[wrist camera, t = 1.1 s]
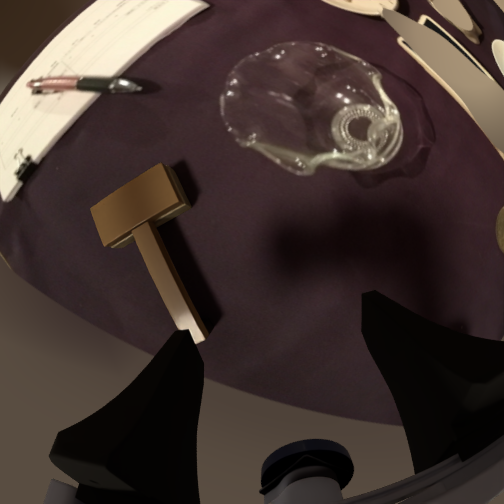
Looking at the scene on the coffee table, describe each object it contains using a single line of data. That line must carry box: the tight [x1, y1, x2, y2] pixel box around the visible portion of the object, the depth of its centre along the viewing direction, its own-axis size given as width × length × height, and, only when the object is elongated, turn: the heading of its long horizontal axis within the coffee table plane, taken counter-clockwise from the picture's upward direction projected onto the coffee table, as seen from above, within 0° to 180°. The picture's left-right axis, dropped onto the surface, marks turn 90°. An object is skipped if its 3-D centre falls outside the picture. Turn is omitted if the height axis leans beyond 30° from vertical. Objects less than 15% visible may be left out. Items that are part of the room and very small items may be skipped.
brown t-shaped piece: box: [90, 162, 214, 344], centre depth 22 cm, size 8×14×3 cm, turn 27°
